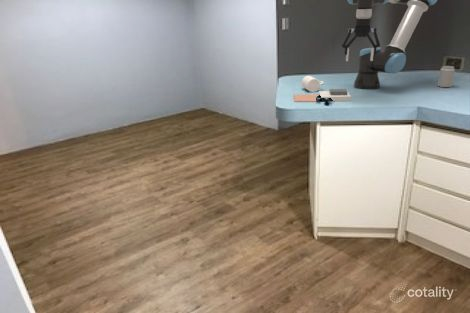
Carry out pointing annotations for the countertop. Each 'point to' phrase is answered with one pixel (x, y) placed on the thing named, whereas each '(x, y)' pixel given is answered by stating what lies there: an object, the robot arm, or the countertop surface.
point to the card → (338, 91)
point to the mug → (311, 83)
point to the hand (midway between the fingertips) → (359, 60)
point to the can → (446, 76)
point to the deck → (335, 96)
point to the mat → (305, 98)
